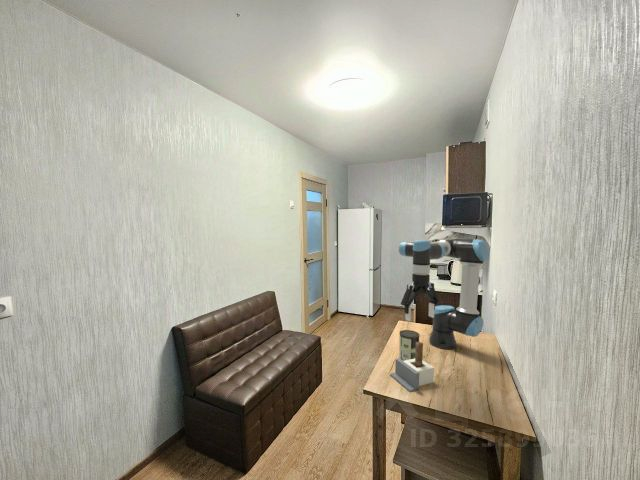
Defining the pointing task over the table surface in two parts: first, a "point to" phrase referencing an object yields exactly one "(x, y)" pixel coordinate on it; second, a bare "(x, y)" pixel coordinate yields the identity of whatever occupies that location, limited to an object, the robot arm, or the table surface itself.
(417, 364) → the dowel
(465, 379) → the table surface
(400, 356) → the coffee can
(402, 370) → the wall
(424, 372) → the block
